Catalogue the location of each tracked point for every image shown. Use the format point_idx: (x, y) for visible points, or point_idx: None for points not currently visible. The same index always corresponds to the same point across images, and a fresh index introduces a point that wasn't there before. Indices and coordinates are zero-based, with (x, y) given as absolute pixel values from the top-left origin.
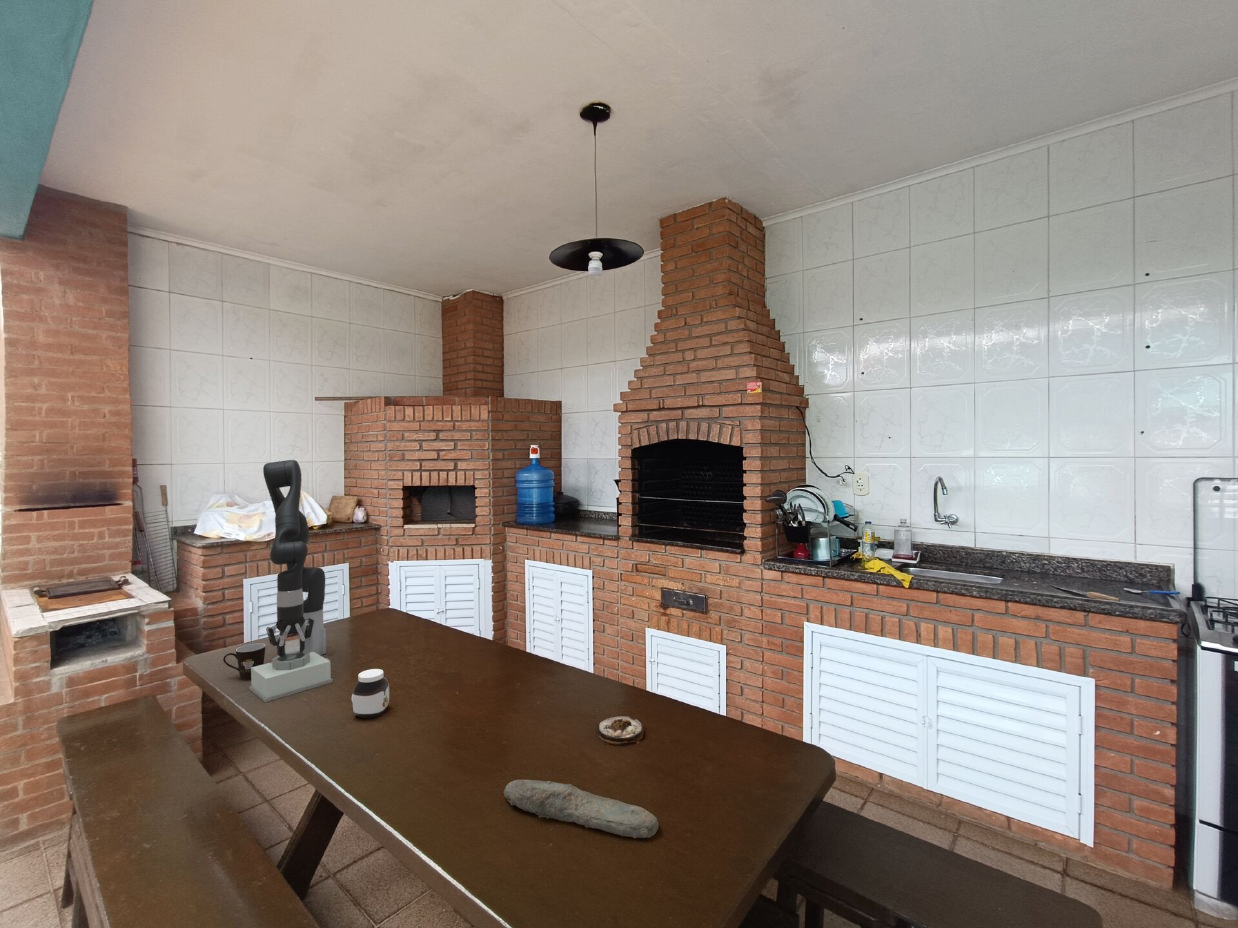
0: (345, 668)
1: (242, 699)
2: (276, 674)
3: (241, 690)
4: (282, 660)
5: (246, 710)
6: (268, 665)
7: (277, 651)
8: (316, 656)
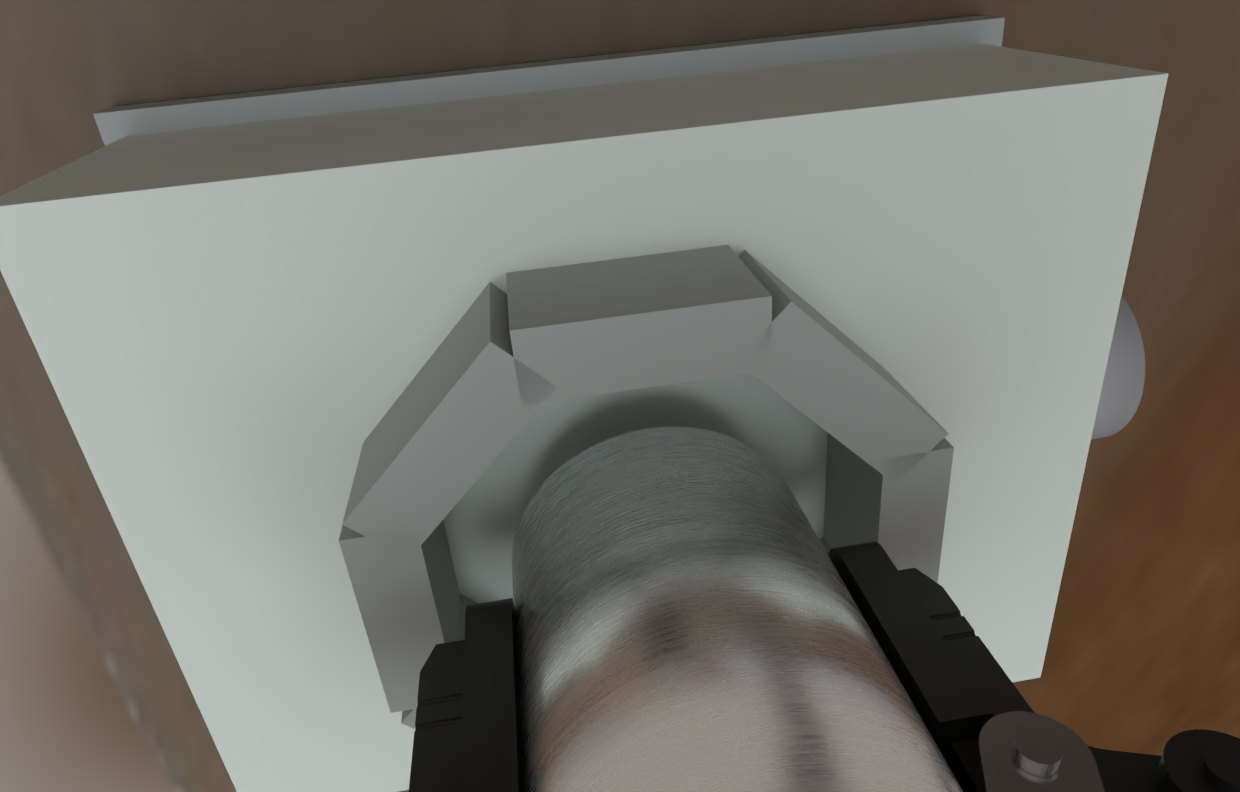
0: (1224, 220)
1: (59, 420)
2: (383, 752)
3: (4, 82)
4: (512, 578)
5: (128, 698)
6: (309, 314)
7: (419, 733)
8: (1047, 381)
